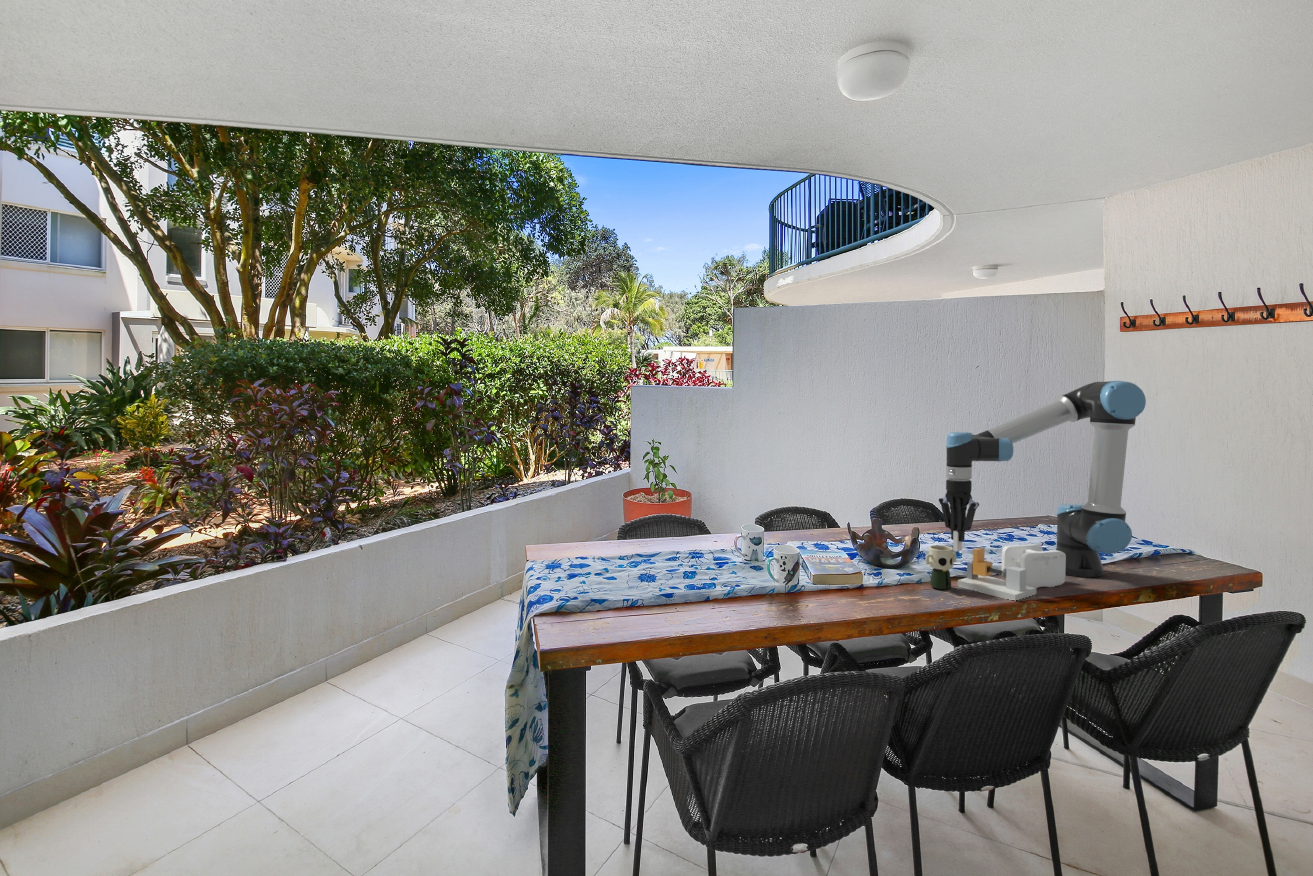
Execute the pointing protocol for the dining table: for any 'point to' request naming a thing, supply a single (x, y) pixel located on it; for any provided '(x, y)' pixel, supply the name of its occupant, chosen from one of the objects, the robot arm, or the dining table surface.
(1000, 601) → the dining table surface
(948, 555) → the character mug
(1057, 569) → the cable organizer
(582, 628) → the dining table surface
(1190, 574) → the dining table surface
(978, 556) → the sleeve
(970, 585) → the slider rail fixture
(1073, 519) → the robot arm
